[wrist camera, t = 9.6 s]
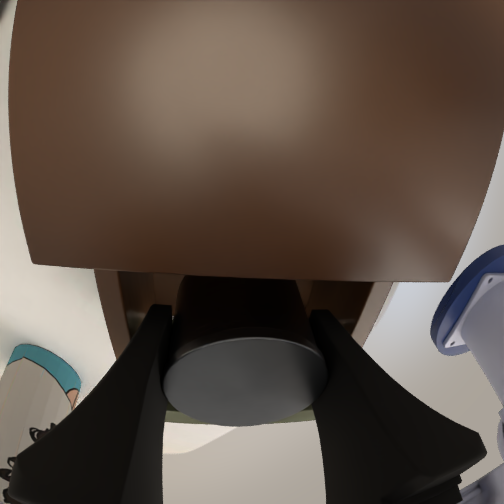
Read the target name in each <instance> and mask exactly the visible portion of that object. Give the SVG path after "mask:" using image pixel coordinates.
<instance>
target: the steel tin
mask: <svg viewBox="0 0 504 504" xmlns="http://www.w3.org/2000/svg"><path fill="white" fill-rule="evenodd" d="M327 381H328V368H327V365H326V362H325V358H324V356H323V354H322V352H321V351H320V350H319V349H318V347H317V345H316V342H315V338H314V335H313V332H312V329H311V326H310V323H309V320H308V317H307V314H306V311H305V308H304V304H303V301H302V298H301V295H300V292H299V289H298V286H297V283H296V281H295V280H287V279H259V278H236V277H214V276H195V275H185V276H184V278H183V279H182V281H181V283H180V285H179V288H178V292H177V297H176V304H175V311H174V318H173V325H172V333H171V341H170V349H169V357H168V361H167V363H166V365H165V367H164V372H163V379H162V388H163V391H164V394H165V396H166V398H167V400H168V401H169V402H170V403H171V405H172V406H173V407H175V408H176V409H177V410H178V411H180V412H181V413H183V414H185V415H187V416H189V417H191V418H193V419H196V420H199V421H202V422H205V423H209V424H214V425H221V426H238V427H240V426H254V425H261V424H266V423H271V422H275V421H278V420H281V419H284V418H287V417H289V416H292V415H294V414H296V413H298V412H300V411H301V410H303V409H305V408H306V407H308V406H309V405H310V404H312V403H313V402H314V401H315V400H316V399H317V398H318V397H319V396H320V395H321V393H322V392H323V390H324V389H325V387H326V384H327Z"/></svg>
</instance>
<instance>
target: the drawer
mask: <svg viewBox="0 0 504 504" xmlns="http://www.w3.org/2000/svg"><path fill="white" fill-rule="evenodd" d="M94 273H95V278H96V283H97V288H98V292H99V297H100V301H101V305H102V309H103V313H104V317H105V321H106V325H107V329H108V332H109V336H110V340H111V343H112V346H113V350H114V353H115V356H116V360H117V359H118V357H119V356H120V355H121V353H122V352H123V350H124V349H125V347H126V346H127V344H128V343H129V341H130V340H131V338H132V337H133V335H134V334H135V332H136V331H137V329H138V327H139V326H140V324H141V322H142V321H143V319H144V317H145V316H146V314H147V312H148V310H149V308H150V306H151V305H153V304H162V305H171V306H172V316H174V311H175V304H176V297H177V292H178V288H179V285H180V283H181V281H182V279H183V278H184V276H185V275H176V274H159V273H143V272H128V271H113V270H99V269H94ZM295 281H296V283H297V286H298V289H299V292H300V295H301V298H302V301H303V304H304V308H305V311H306V314H307V317H308V320H309V317H310V314H311V311H312V309H328V310H329V311H330V312H331V313H332V314H333V315H334V317H335V318H336V319H337V320H338V321H339V322H340V324H341V325H342V326H343V327H344V328H345V329H346V330H347V332H348V333H349V334H350V335H351V336H352V337H353V338H354V340H355V341H356V342H357V343H358V344H359V345H360V346H361V347H363V345H364V343H365V341H366V339H367V337H368V335H369V333H370V331H371V329H372V327H373V325H374V323H375V321H376V319H377V317H378V315H379V313H380V311H381V309H382V306H383V304H384V302H385V300H386V298H387V295H388V293H389V291H390V289H391V286H392V284H393V282H363V281H319V280H295ZM172 321H173V320H172ZM311 420H315V416H314V412H313V409H312V405H311V404H310V405H309V406H308V407H306V408H305V409H303V410H301V411H300V412H298V413H296V414H294V415H292V416H289V417H287V418H284V419H281V420H278V421H275V422H271V423H266V424H273V423H288V422H301V421H311ZM165 422H173V423H188V424H209V423H205V422H202V421H199V420H196V419H193V418H191V417H189V416H187V415H185V414H183V413H181V412H180V411H178V410H177V409H176V408H175V407H173V406H172V405H171V403H170V402H169V401H168V404H167V410H166V416H165Z"/></svg>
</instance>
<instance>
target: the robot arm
mask: <svg viewBox="0 0 504 504" xmlns="http://www.w3.org/2000/svg"><path fill="white" fill-rule="evenodd" d="M309 323H310V326H311V329H312V332H313V335H314V338H315V342H316V345H317V347H318V349H319V350H320V351H321V352H322V354H323V356H324V358H325V362H326V365H327V368H328V381H327V384H326V387H325V389H324V390H323V392H322V393H321V395H320V396H319V397H318V398H317V399H316V400H315V401H314V402H313V403H312V404H311V405H312V409H313V412H314V416H315V420H316V423H317V427H318V432H319V437H320V443H321V451H322V458H323V467H324V476H325V489H326V504H504V463H503V464H501V465H500V466H498V467H497V468H495V469H494V470H492V471H491V472H489V473H487V474H486V475H485V476H483V477H481V478H480V479H479V480H477V481H475V482H473V483H472V484H470V485H468V486H466V487H465V488H463V489H461V490H459V488H458V484H460V483H461V481H462V480H461V477H460V474H461V473H463V472H464V471H466V470H467V469H469V468H470V467H472V466H473V465H475V464H476V463H478V462H479V461H480V460H482V459H483V458H484V457H485V456H486V454H487V451H486V448H485V446H484V444H483V442H482V439H481V437H480V435H479V433H477V432H475V431H473V430H471V429H469V428H467V427H464V426H462V425H460V424H458V423H456V422H454V421H452V420H450V419H449V418H446V417H445V416H443V415H441V414H440V413H438V412H437V411H435V410H433V409H432V408H430V407H429V406H427V405H426V404H424V403H423V402H422V401H420V400H419V399H417V398H416V397H415V396H413V395H412V394H411V393H409V392H408V391H407V390H406V389H404V388H403V387H402V386H401V385H400V384H398V383H397V382H396V381H395V380H394V379H393V378H391V377H390V376H389V375H388V374H387V373H386V372H385V371H384V370H383V369H382V368H381V367H380V366H379V365H378V364H377V363H376V362H375V361H374V360H373V359H372V358H371V357H370V356H369V355H368V354H367V353H366V352H365V351H364V350H363V348H362V347H361V346H360V345H359V344H358V343H357V342H356V341H355V340H354V338H353V337H352V336H351V335H350V334H349V333H348V332H347V330H346V329H345V328H344V327H343V326H342V325H341V324H340V322H339V321H338V320H337V319H336V318H335V317H334V315H333V314H332V313H331V312H330V311H329V310H328V309H312V311H311V314H310V317H309ZM172 325H173V321H172V306H171V305H162V304H153V305H151V306H150V308H149V310H148V312H147V314H146V316H145V317H144V319H143V321H142V322H141V324H140V326H139V327H138V329H137V331H136V332H135V334H134V335H133V337H132V338H131V340H130V341H129V343H128V344H127V346H126V347H125V349H124V350H123V352H122V353H121V355H120V356H119V357H118V359H117V360H116V361H115V363H114V364H113V365H112V367H111V368H110V369H109V371H108V372H107V373H106V375H105V376H104V377H103V378H102V379H101V381H100V382H99V383H98V384H97V385H96V386H95V388H94V389H93V390H92V391H91V392H90V393H89V394H88V395H87V396H86V397H85V399H84V400H83V401H82V402H81V403H80V404H79V405H78V406H77V407H76V408H75V409H74V410H73V411H72V412H71V413H70V414H69V415H67V416H66V417H65V418H64V419H63V420H62V421H61V422H59V423H58V424H57V425H56V426H55V427H54V428H53V429H51V430H50V431H49V432H48V433H47V434H45V435H44V436H43V437H42V438H40V439H39V440H37V441H36V442H35V443H33V444H32V445H30V446H29V447H28V448H26V449H25V450H23V451H22V452H20V453H19V454H18V455H17V457H16V460H15V462H14V465H13V468H12V472H11V477H10V482H9V487H8V495H9V496H10V497H11V498H13V499H15V500H17V501H18V502H20V503H22V504H163V492H162V491H163V490H162V489H163V488H162V451H163V431H164V423H165V416H166V410H167V404H168V400H167V398H166V396H165V394H164V391H163V388H162V379H163V372H164V367H165V365H166V363H167V361H168V357H169V349H170V341H171V333H172ZM463 344H466V345H467V347H468V348H469V350H470V351H471V352H472V354H473V356H474V357H475V359H476V361H477V362H478V364H479V365H480V367H481V369H482V370H483V372H484V374H485V375H486V377H487V379H488V380H489V382H490V384H491V385H492V387H493V389H494V391H495V392H496V394H497V396H498V398H499V400H500V401H501V403H502V405H503V406H504V273H485V274H484V275H483V276H482V277H481V279H480V281H479V283H478V285H477V287H476V289H475V291H474V293H473V294H472V296H471V298H470V300H469V302H468V303H467V305H466V307H465V309H464V310H463V312H462V314H461V315H460V317H459V319H458V320H457V322H456V324H455V325H454V327H453V328H452V330H451V331H450V333H449V335H448V336H447V338H446V339H445V341H444V342H443V345H444V347H445V348H448V347H453V346H458V345H463ZM499 415H500V417H501V420H500V422H499V425H498V433H497V443H498V448H499V451H500V454H501V457H502V459H503V460H504V408H503V409H501V410H500V411H499ZM0 504H4V503H3V502H1V501H0Z"/></svg>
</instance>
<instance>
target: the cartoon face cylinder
mask: <svg viewBox="0 0 504 504" xmlns="http://www.w3.org/2000/svg"><path fill="white" fill-rule="evenodd" d="M80 388H81V381H80V379H79V376H78V375H77V373H76V372H75V371H74V370H73V368H72V367H71V366H69V365H68V364H67V363H66V362H65V361H64V360H62V359H61V358H59V357H58V356H56V355H55V354H53V353H51V352H49V351H47V350H45V349H43V348H40V347H37V346H33V345H29V344H21V345H19V346H17V347H15V349H14V351H13V353H12V355H11V357H10V359H9V362H8V364H7V366H6V368H5V370H4V373H3V375H2V377H1V379H0V501H1V502H3V503H4V504H22V503H20V502H18V501H17V500H15V499H13V498H11V497H10V496H9V495H8V487H9V482H10V477H11V472H12V468H13V465H14V462H15V460H16V457H17V455H18V454H19V453H20V452H22V451H23V450H25V449H26V448H28V447H29V446H30V445H32V444H33V443H35V442H36V441H37V440H39V439H40V438H42V437H43V436H44V435H45V434H47V433H48V432H49V431H50V430H51V429H53V428H54V427H55V426H56V425H57V424H58V423H59V422H61V421H62V420H63V419H64V418H65V417H66V416H67V415H69V414H70V413H71V412H72V411H73V410H74V409H75V406H76V402H77V399H78V395H79V391H80Z"/></svg>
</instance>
